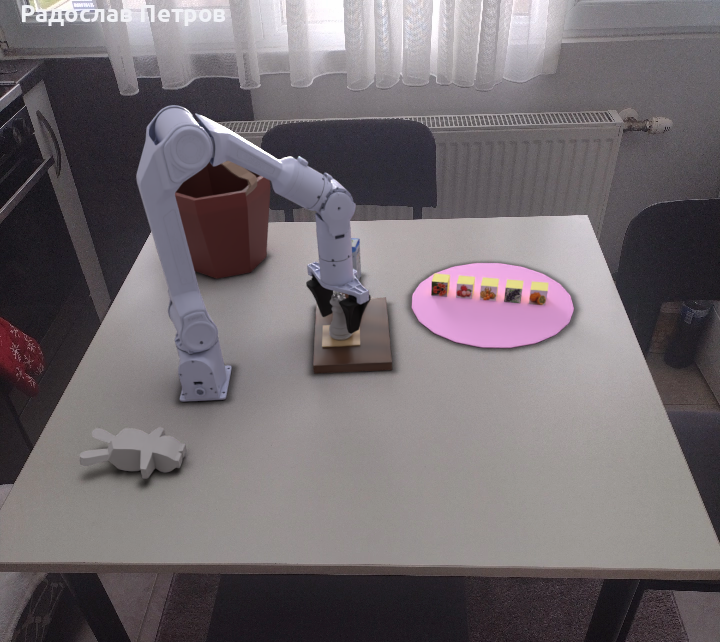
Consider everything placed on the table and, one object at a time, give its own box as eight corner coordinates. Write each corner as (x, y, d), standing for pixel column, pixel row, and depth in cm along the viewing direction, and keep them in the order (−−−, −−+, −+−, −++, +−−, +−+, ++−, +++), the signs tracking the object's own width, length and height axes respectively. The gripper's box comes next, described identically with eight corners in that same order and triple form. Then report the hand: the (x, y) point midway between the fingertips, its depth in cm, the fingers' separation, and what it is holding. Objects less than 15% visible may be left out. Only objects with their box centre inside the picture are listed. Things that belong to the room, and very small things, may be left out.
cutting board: (392, 370, 122) (391, 360, 121) (313, 373, 122) (312, 364, 121) (385, 292, 142) (384, 283, 140) (317, 295, 142) (316, 286, 140)
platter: (425, 258, 151) (426, 243, 149) (575, 269, 145) (578, 254, 142) (396, 339, 129) (396, 323, 127) (571, 356, 123) (575, 341, 120)
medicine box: (321, 284, 145) (317, 245, 139) (325, 273, 148) (322, 235, 142) (357, 285, 144) (355, 247, 138) (361, 275, 147) (359, 237, 141)
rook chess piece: (357, 331, 128) (355, 293, 122) (344, 343, 125) (342, 305, 120) (337, 325, 130) (334, 287, 124) (324, 337, 127) (321, 299, 121)
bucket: (294, 269, 150) (279, 151, 133) (198, 298, 143) (170, 178, 125) (250, 227, 166) (232, 117, 148) (162, 252, 158) (132, 139, 141)
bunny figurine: (172, 466, 101) (71, 454, 101) (176, 489, 104) (78, 478, 105) (189, 424, 108) (94, 413, 108) (192, 447, 111) (101, 437, 111)
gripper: (381, 260, 114) (382, 329, 123) (326, 232, 122) (331, 299, 131) (349, 275, 111) (353, 345, 120) (295, 245, 119) (302, 313, 128)
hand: (340, 322), depth 126 cm, fingers open, 7 cm apart
